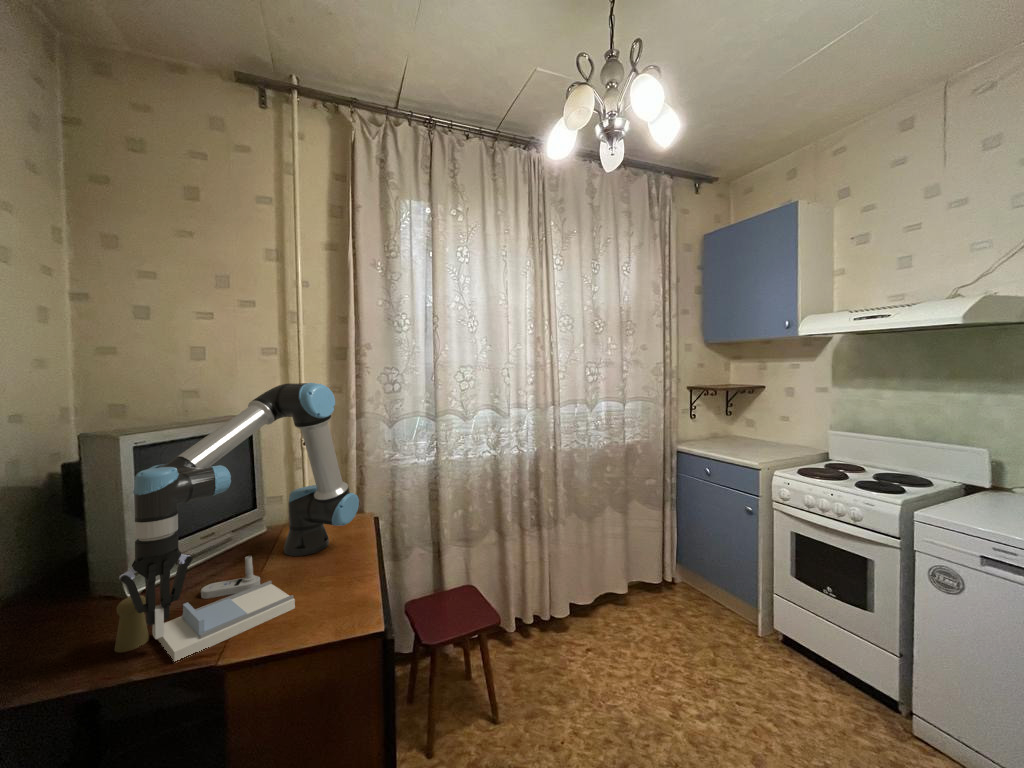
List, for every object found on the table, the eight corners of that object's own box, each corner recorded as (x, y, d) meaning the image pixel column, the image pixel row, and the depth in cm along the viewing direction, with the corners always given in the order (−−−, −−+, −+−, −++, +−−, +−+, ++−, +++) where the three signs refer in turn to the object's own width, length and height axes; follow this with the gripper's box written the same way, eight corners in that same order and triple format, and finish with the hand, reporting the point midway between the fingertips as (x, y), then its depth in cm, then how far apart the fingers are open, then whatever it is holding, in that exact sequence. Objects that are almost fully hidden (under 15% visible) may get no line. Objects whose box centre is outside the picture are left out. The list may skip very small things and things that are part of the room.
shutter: (229, 600, 107) (228, 587, 107) (247, 616, 100) (247, 601, 100) (183, 618, 99) (182, 604, 99) (199, 636, 92) (199, 621, 92)
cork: (129, 636, 96) (129, 592, 96) (156, 634, 97) (155, 591, 97) (106, 653, 90) (106, 606, 90) (134, 651, 91) (134, 604, 91)
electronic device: (204, 560, 117) (261, 551, 122) (206, 592, 118) (262, 582, 122) (196, 568, 112) (255, 559, 117) (198, 602, 113) (257, 591, 117)
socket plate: (269, 590, 117) (269, 579, 117) (294, 608, 108) (294, 596, 108) (155, 636, 96) (155, 623, 96) (174, 663, 87) (174, 648, 87)
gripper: (187, 523, 98) (188, 616, 98) (114, 540, 88) (115, 644, 88) (197, 529, 94) (198, 627, 94) (121, 548, 83) (122, 658, 83)
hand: (158, 635), depth 91 cm, fingers closed
